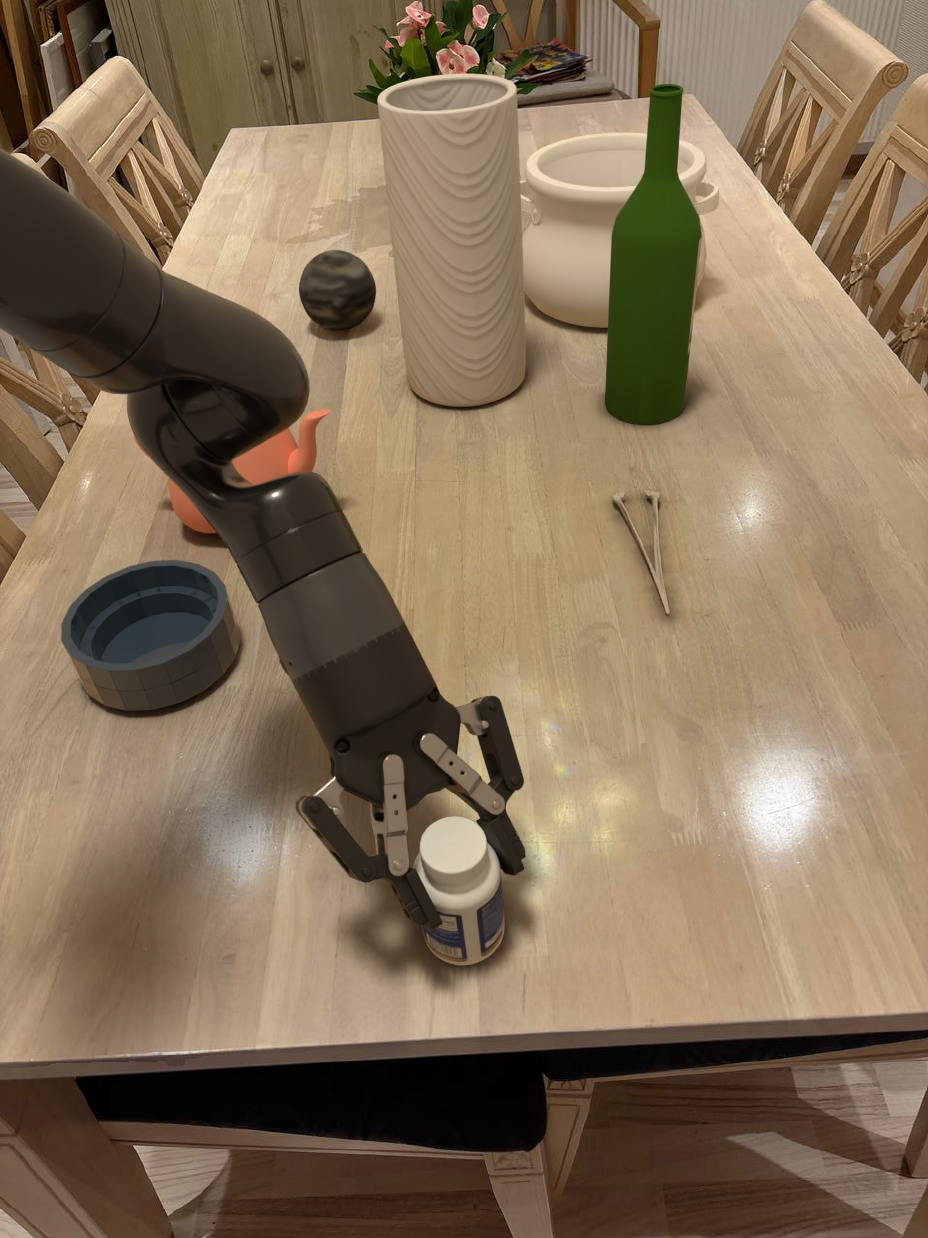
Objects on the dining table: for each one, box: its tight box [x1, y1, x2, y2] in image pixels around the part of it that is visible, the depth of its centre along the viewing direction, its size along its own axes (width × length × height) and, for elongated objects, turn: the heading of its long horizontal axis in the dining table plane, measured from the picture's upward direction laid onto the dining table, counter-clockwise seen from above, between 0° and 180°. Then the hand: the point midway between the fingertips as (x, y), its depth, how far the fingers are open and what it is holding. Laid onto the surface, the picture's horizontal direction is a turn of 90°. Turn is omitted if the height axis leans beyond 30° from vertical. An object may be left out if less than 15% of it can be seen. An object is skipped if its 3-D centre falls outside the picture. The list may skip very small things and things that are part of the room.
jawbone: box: [611, 489, 671, 615], centre depth 90 cm, size 18×5×2 cm, turn 2°
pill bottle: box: [412, 815, 505, 966], centre depth 60 cm, size 5×5×10 cm
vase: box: [376, 73, 527, 408], centre depth 106 cm, size 14×14×32 cm
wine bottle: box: [604, 83, 702, 426], centre depth 99 cm, size 9×9×32 cm
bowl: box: [60, 559, 241, 712], centre depth 82 cm, size 14×14×6 cm
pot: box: [520, 131, 720, 329], centre depth 125 cm, size 26×24×18 cm
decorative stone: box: [298, 249, 377, 332], centre depth 126 cm, size 10×10×10 cm
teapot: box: [133, 408, 331, 534], centre depth 96 cm, size 13×20×12 cm, turn 85°
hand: (474, 897), depth 58 cm, fingers closed on pill bottle, 5 cm apart
